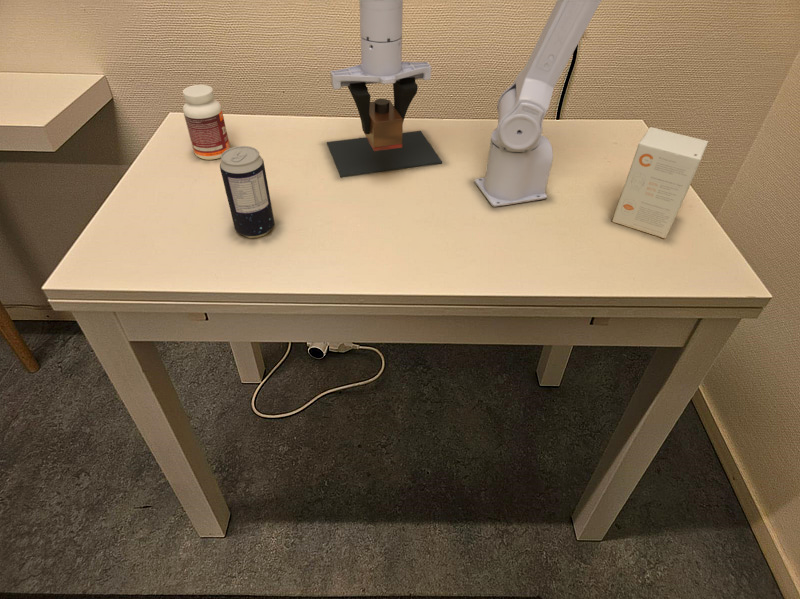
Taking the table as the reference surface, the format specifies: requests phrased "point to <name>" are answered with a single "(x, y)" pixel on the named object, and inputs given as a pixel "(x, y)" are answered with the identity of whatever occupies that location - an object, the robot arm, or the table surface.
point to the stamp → (384, 126)
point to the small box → (658, 181)
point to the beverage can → (247, 191)
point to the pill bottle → (205, 122)
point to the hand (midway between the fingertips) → (381, 129)
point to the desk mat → (382, 155)
